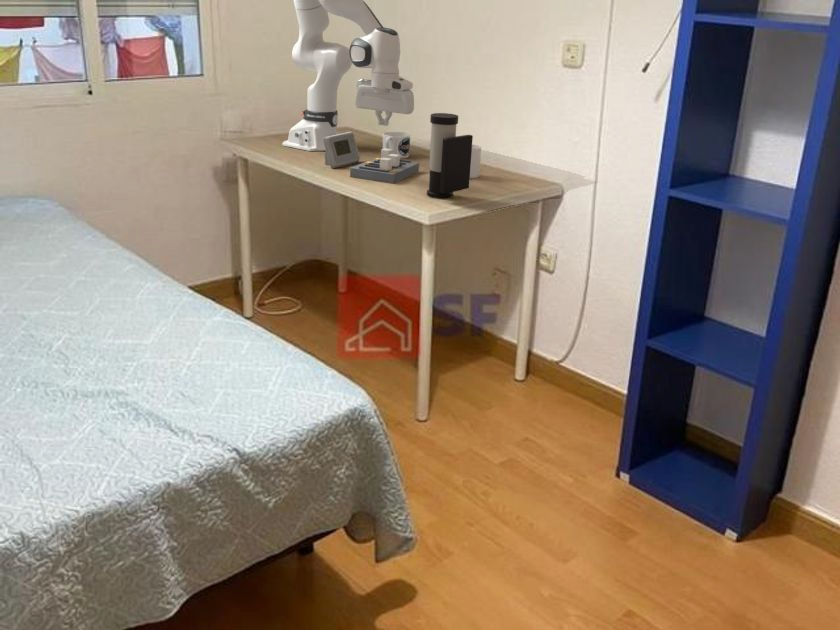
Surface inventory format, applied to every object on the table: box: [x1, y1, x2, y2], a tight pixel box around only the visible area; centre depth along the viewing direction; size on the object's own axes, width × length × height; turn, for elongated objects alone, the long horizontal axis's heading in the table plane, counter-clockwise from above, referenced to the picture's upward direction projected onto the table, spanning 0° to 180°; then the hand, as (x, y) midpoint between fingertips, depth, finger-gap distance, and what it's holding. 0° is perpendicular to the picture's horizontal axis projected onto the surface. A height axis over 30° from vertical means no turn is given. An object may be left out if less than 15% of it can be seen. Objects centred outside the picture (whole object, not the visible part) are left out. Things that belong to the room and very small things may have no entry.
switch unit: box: [349, 156, 420, 184], centre depth 278 cm, size 16×21×4 cm
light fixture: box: [426, 112, 474, 199], centre depth 250 cm, size 12×11×25 cm
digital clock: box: [323, 131, 361, 169], centre depth 288 cm, size 16×9×11 cm, turn 136°
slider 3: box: [388, 154, 401, 166], centre depth 276 cm, size 3×3×4 cm
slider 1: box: [380, 148, 393, 158], centre depth 284 cm, size 3×3×4 cm
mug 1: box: [382, 131, 411, 159], centre depth 305 cm, size 13×10×8 cm
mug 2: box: [470, 144, 482, 180], centre depth 281 cm, size 12×8×10 cm
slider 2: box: [380, 157, 392, 171], centre depth 270 cm, size 3×3×4 cm
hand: (383, 125), depth 267 cm, fingers closed
